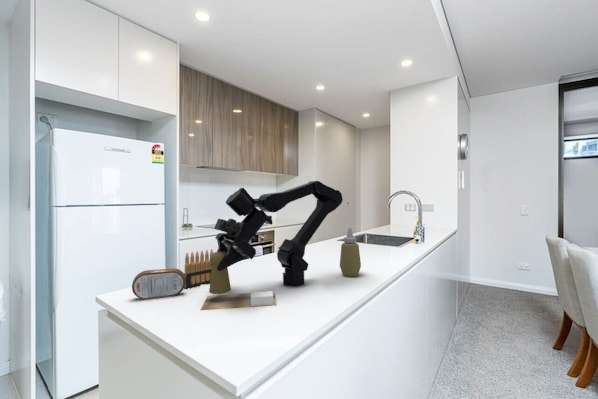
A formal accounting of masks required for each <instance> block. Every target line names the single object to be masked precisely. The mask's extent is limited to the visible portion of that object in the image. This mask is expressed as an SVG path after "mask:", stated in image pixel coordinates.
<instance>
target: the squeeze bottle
mask: <svg viewBox="0 0 598 399" xmlns="http://www.w3.org/2000/svg"><path fill="white" fill-rule="evenodd" d="M352 229H353V228H351V227H348V228H347V232H346V236H345V237H343V243H342V244H341V245H340V246H341V247H340V257H339V267H340V270H341V273H342V275H343V276H344V277H350V278H351V277H352V278H353V277H357V276H358V275H359V274H360V270H361V267H362V262H361V254H360V245H359V244H358V243H357V237H355V236H354V233H353V230H352Z"/></svg>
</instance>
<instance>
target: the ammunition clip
mask: <svg viewBox="0 0 598 399" xmlns="http://www.w3.org/2000/svg"><path fill="white" fill-rule="evenodd" d="M212 253H214V251H213V249H210V252H209V251H208V249H206V250H205V254H204V251H203V250H201V251H200V253H199V251H198V250H197V251H196V253H195V254H194V252H193V251H191V253H190V257H189V254H188V252H186V254H185V258H184V260H185V261H184V272H183V273H184V274H185V276H186V284H185V287H184V289H186V290H189V289H188V288H190V289H193V288H192V287H194V288H197V286H198V287H201V285H203V286H204V285H210V280H211V271H212V266H211V262H210V256H211V254H212Z"/></svg>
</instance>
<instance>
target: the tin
mask: <svg viewBox="0 0 598 399" xmlns="http://www.w3.org/2000/svg"><path fill="white" fill-rule="evenodd" d="M184 273H185V272H183V271H182V270H181V269H178V268H175V267H174V268H162V269H148V270H143V271H141V272H140V273H139V272H138V274H137V275H135V277H134V278H133V281H132V285H131V290H132V292H133V295H135V297H136V298H139V299H140V300H141V299H142V300H152V299H161V298H169V297H175V296H178V295H179V294H181V293H182V292H183V291H184V289H185V288H184V287H185V284H186V276H185V274H184Z"/></svg>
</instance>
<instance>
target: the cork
mask: <svg viewBox="0 0 598 399" xmlns="http://www.w3.org/2000/svg"><path fill="white" fill-rule="evenodd" d="M225 255H226V252H217V251H215V252H213V253H212V254H211V256H210V255H209V261H210V262H211V264H212V271H211V280H210V284H209V288H208V289H209V291H208V292H209V293H210V294H212V295H213V294H214V295H224V294H226V293H227V294H228V292H231V291H232V288H231V287H232V286H231V283H230V282H231V280H230V275H229V269H228V268H229V267H227V268H225V269H223V270H221V271H218V270H217V267H218V266H219V264H220V262H221V261H222V259H223V258H224V256H225Z"/></svg>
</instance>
